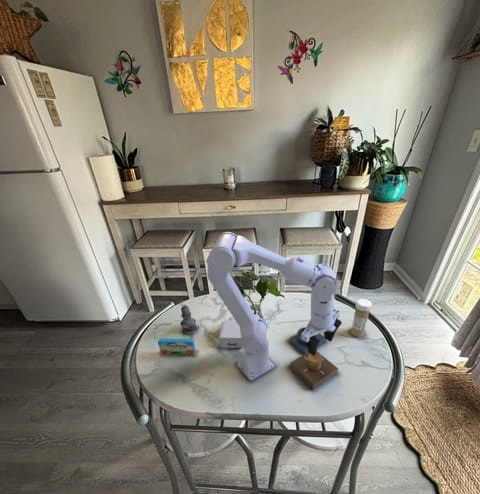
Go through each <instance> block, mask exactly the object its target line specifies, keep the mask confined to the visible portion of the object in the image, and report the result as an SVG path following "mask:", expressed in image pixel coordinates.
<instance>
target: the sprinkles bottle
mask: <svg viewBox="0 0 480 494" xmlns="http://www.w3.org/2000/svg"><path fill="white" fill-rule="evenodd" d="M371 308H372V302H371V301H370V300H368V299H366V298H359V299H358V300H356V303H355V310H354V313H353V319H352V323H351V330H350V334H351V335H353V336H354V337H356V338H362V337H364V335H365V333H366V332H365V331H366V328H367V325H368V319H369V316H370V315H369V314H370V310H371Z"/></svg>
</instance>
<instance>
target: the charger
mask: <svg viewBox="0 0 480 494" xmlns="http://www.w3.org/2000/svg"><path fill="white" fill-rule="evenodd" d="M218 345H219V347H220V348H223V349H241V348H242V347H243V346H244V342H243V340H242V338H241V332H240V326H239V325H238V323H237V322H236V320H235V319H234V317H233V316H230V317H229V318H228V319H227V320H226V319H225V320H223V321H222V322H221V326H220V331H219V334H218Z"/></svg>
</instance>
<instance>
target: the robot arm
mask: <svg viewBox="0 0 480 494" xmlns="http://www.w3.org/2000/svg"><path fill="white" fill-rule="evenodd" d="M214 242H215V243H214V245H213V247H212V249H211V251H210V252H209V254H208V255H207V258H206V259H205V260H206V261H205V262H206V264H207V279H208V281H209V282H210V284H211V285H212V287H213V288H214V290H215V292H216V293H217V294H218V296H219V298H220V299H221V300H222V302H223V304H224V305H225V307H226V308H227V310H228V311H229V313H230V314H231V317H234V319H235V320H236V322H237V323H238V325H239V326H240V332H241V338H242V340H243V342H244V346H243V347H242V348H239V349H238V350H237V351H236V358H237V363H236V366H237V367H238V368H239V369H240V370H241V372H242V374H244V375H245V376H246V378H247V379H248V380H249V381H253V380H255V379H256V378H258V377H260V376H261V375H263V374H265V373H267V372H268V371H270V370H272V369H273V368H275V364H274V363H273V362H272V361H271V360H270V357H269V356H270V353H269V352H270V351H269V346H270V345H269V341H268V338H267V333H268V327H269V326H268V323H267V322H266V321H265V320H264V319H262V318H261V316H260V315H259V314H258V313H257V314H255V313H254V312H253V309H252V308H251V307H250V305H249V304H248V301H247V300H246V298H245V297H244V296H243V294H242V292H241V290H240V289H239V287H238V285H237V284H236V282H235V280H234V279H233V277H232V275H231V274H230V271H231V270H232V269H233V268H234V266H235V265H236V263H237V268H239V267H242V266H244V265H246V264H248V263H253V264H257V265H260V266H263V267H266V268H271V269H273V270H276V271H279V272H281V274H282V276H283V278H284V279H287V280H290V281H293V282H294V283H297V284H300V285H302V286H305V287H308V288H310V289H311V293H310V320H309V321H308V323H307V325H306V326H305V327H306V329H305V330H304V331H302V332H301V333H300V337H301V339H302V340H303V341H304V342H305V344H306V346H307V349H308V352H309V353H310V354H312V355H313V356H314V355H316V352H318V347H319V346H318V344H319V342H320V340H319V339H317V338H316V336H315V335H317V334H323V336H324V337H325V339H326V341H328V342H333V339H334V337H335V335H336V333H337V331H338V329H339V327H340V326H342V323H343V322H342V320H340V319H339V318H340V316H341V311H340V310H338V309H336V308H334V306H335V293H336V291H337V290H338V287H339V286H338V282H337V279H336V275H335V272H334V269H333V268H332V267H331V266H329V265H328V264H327V263H317V264H315V263H313V262H310V261H307V260H305V258H304V257H303V256H301V255H298V257H297V256H295V255H291V256H288V257H285V256H282V255H280V254H278V253H276V252H274V251H271V250H269V249H267V248H265V247H263V246H261V245H259V244H256V243H254V242H252V241H250V239H248V238H246V237H245V236H242V235H237V234H236V233H233V232H230V231H225V232H222V233H220V234H219V235H218V237H217V238H216V240H215V241H214Z"/></svg>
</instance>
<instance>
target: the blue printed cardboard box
mask: <svg viewBox="0 0 480 494" xmlns="http://www.w3.org/2000/svg"><path fill="white" fill-rule="evenodd" d="M157 345H158V349H159V352H160V355H162V356H163V355H165V356H167V355H168V356H196V353H197V349H196V343H195V340H194V339H193V338H165V337H164V338H162V337H160V338H159V339H158V340H157Z"/></svg>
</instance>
